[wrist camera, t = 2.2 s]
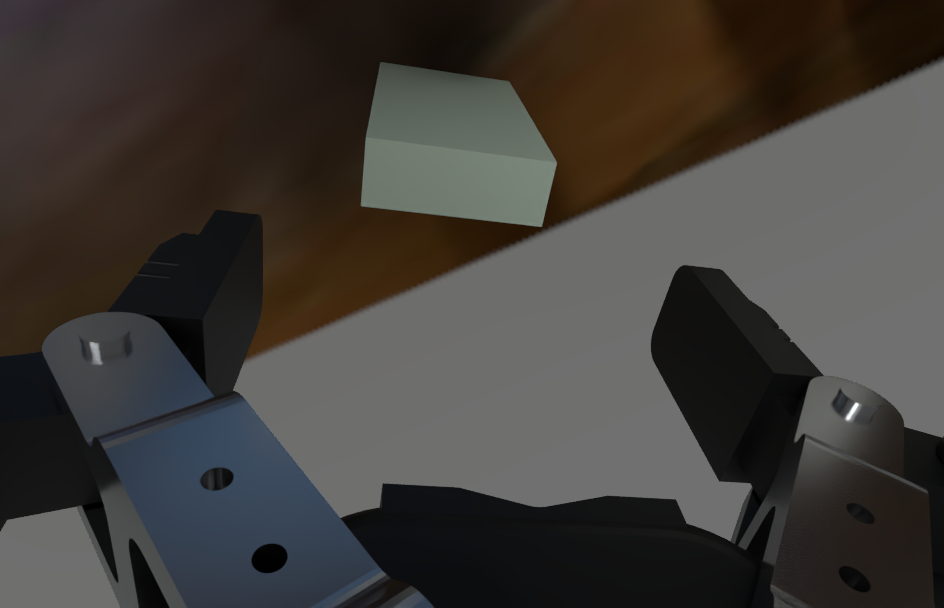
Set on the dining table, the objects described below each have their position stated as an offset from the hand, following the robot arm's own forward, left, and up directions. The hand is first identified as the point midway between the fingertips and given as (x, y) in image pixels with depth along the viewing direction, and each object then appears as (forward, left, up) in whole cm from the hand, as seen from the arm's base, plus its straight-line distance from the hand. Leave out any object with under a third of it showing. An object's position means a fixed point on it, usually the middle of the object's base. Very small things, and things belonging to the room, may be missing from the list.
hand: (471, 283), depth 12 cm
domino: (0, 0, -14) cm, 14 cm away
